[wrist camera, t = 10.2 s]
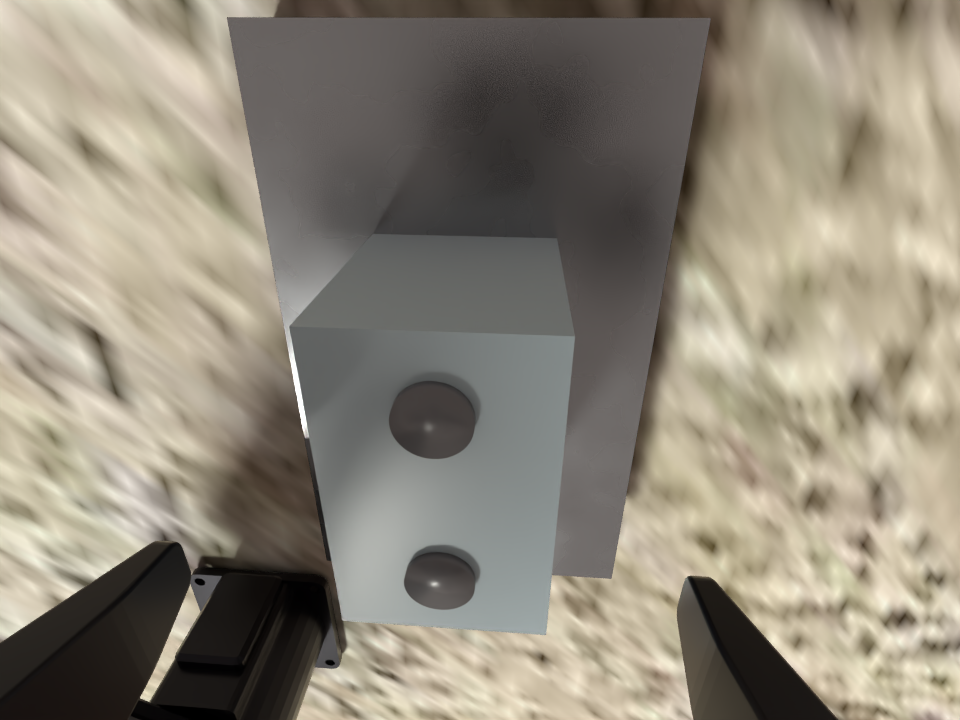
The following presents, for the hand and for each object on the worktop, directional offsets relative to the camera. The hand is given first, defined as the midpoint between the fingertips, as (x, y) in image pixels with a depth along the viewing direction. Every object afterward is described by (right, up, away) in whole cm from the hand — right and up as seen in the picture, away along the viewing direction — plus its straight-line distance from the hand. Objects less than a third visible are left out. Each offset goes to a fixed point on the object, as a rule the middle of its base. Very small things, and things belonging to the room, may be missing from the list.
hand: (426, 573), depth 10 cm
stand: (+1, +5, +9) cm, 10 cm away
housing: (0, +4, +7) cm, 8 cm away
